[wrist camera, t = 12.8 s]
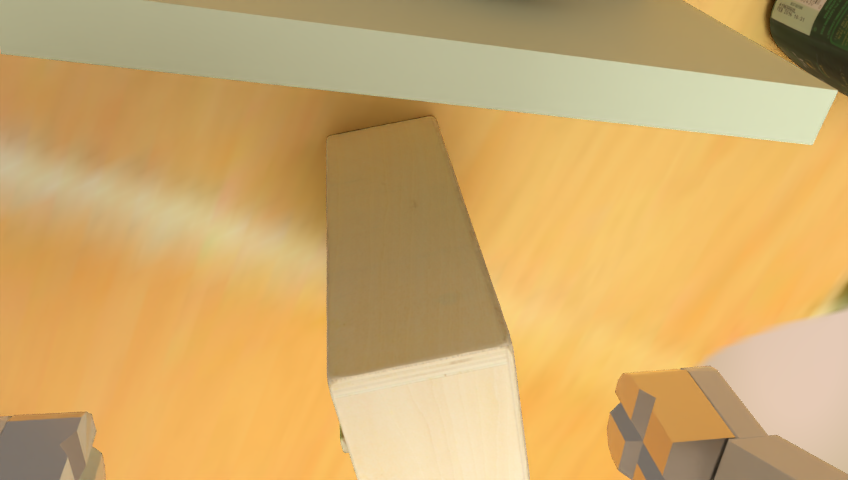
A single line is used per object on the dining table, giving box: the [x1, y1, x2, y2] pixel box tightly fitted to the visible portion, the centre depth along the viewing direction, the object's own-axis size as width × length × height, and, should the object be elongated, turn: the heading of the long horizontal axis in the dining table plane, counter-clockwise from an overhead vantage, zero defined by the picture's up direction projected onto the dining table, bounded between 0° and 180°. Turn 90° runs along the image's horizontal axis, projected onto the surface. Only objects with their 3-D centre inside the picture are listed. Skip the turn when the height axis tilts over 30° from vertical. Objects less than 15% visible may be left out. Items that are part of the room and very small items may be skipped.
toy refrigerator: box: [326, 116, 530, 480], centre depth 35 cm, size 8×7×21 cm
